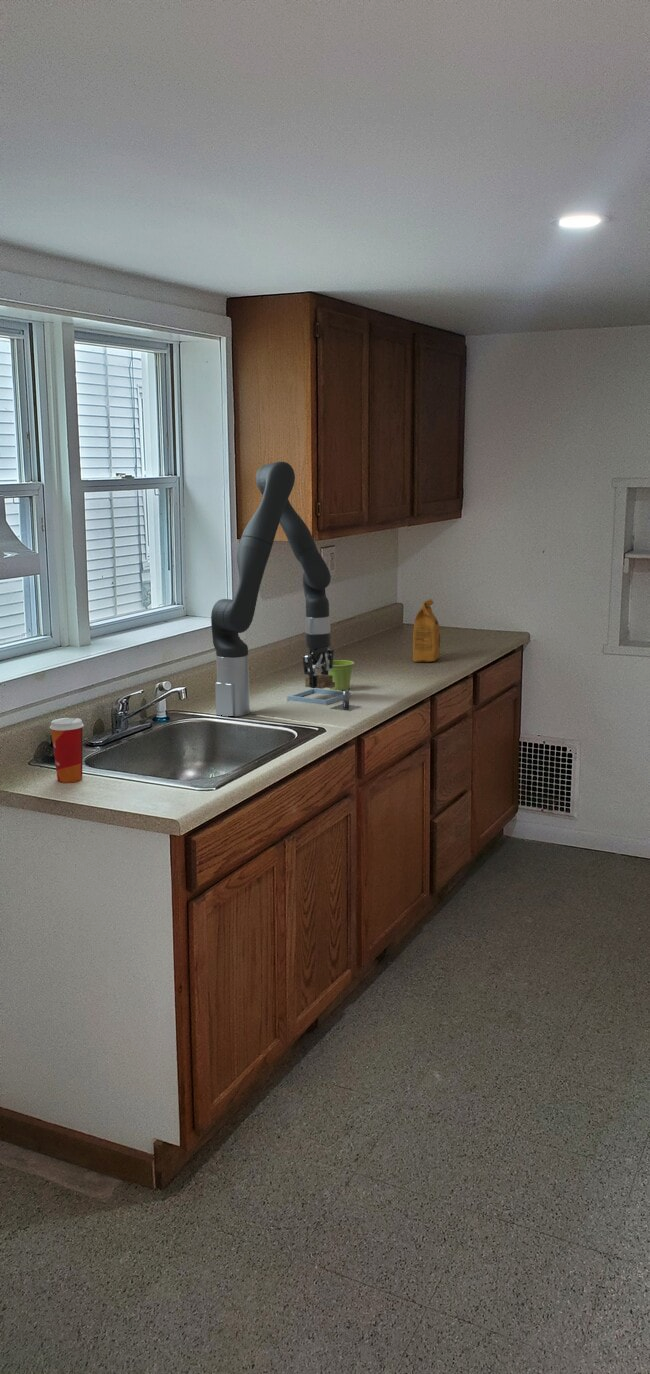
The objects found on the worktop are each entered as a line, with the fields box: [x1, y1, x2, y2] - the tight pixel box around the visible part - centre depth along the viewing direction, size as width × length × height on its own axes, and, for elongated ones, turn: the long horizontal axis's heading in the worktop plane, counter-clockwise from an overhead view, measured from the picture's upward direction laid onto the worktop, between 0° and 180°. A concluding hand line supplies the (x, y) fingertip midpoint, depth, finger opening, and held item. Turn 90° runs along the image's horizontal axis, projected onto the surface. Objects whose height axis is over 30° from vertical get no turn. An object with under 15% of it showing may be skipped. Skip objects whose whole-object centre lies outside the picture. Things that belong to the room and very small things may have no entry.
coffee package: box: [412, 598, 441, 663], centre depth 401 cm, size 10×12×22 cm
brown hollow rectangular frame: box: [304, 673, 335, 689], centre depth 335 cm, size 8×6×3 cm
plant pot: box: [328, 659, 355, 691], centre depth 353 cm, size 9×9×9 cm
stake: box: [329, 689, 363, 712], centre depth 323 cm, size 7×7×6 cm
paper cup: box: [49, 717, 85, 784], centre depth 254 cm, size 8×8×14 cm
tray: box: [286, 688, 352, 706], centre depth 336 cm, size 14×14×2 cm
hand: (319, 685), depth 336 cm, fingers closed on brown hollow rectangular frame, 6 cm apart
